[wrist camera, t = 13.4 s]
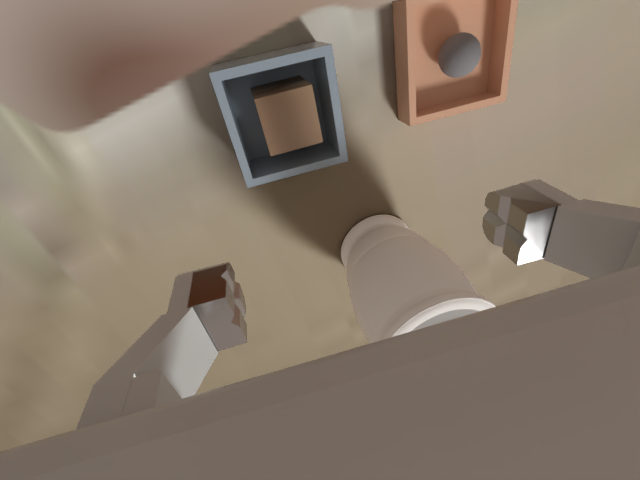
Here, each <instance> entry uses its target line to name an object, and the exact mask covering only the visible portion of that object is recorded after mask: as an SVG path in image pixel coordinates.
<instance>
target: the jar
mask: <svg viewBox="0 0 640 480" xmlns="http://www.w3.org/2000/svg"><path fill="white" fill-rule="evenodd" d="M341 259H342V263H343V265H344V267H345V268H346V269H347V282H348V287H349V290H350V296H351V301H352V305H353V309H354V312H355V315H356V318H357V321H358V323H359V325H360V327H361V329H362V331H363V333H364V335H365V337H366V339H367V340H368V342H369V343H374V342H377V341H380V340H384V339H387V338H391V337H394V336H397V335H401V334H404V333H408V332H411V331H414V330H418V329H421V328H425V327H428V326H431V325H435V324H438V323H442V322H445V321H448V320H452V319H455V318H459V317H462V316H465V315H469V314H472V313H476V312H479V311H482V310H486V309H489V308H493V307H496V306H495V305H494V304H493V303H492V302H491V301H490V300H488V299H487V298H486V297H484V296H482V295H479V294H477V293H476V291H475V289H474V287H473V285H472V284H471V282H470V281H469V279H468V278H467V276H466V275H465V274H464V272H463V271H462V270H461V269H460V267H459V266H458V265H457V264H456V263H455V262H454V261H453V260H452V259H451V258H450V257H449V256H448V255H447V254H446V253H444V252H443V251H442V250H441V249H439V248H438V247H436V246H435V245H433V244H432V243H430V242H429V241H428V240H426V239H425V238H424V237H422V236H421V235H419V234H418V233H416V232H414V231H412V230H410V229H409V228H408V227H407V225H406V224H405V223H404V222H403V221H402V220H401V219H399V218H397V217H395V216H391V215H375V216H371V217H368V218H366V219H364V220H362V221H360V222H359V223H358V224H356V225H355V226H354V227H353V228H352V229H351V230H350V231H349V232H348V234H347V235H346V237H345V239H344V241H343V243H342V247H341Z"/></svg>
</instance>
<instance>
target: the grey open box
mask: <svg viewBox="0 0 640 480" xmlns="http://www.w3.org/2000/svg"><path fill="white" fill-rule="evenodd" d="M298 75H300V76H301V77H303V78H304V79H305V80H307V81H308V82H309V83H311V84H312V87H313V92H314V97H315V102H316V108H317V113H318V118H319V123H320V128H321V133H322V138H323V142H322V143H318V144H315V145H311V146H307V147H304V148H300V149H296V150H293V151H289V152H285V153H282V154H278V155H274V156H270V152H269V149H268V146H267V142H266V139H265V136H264V132H263V129H262V126H261V122H260V119H259V115H258V112H257V108H256V105H255V102H254V98H253V95H252V91H251V87H255V86H259V85H263V84H267V83H271V82H275V81H279V80H283V79H287V78H291V77H294V76H298ZM209 76H210V79H211V82H212V85H213V88H214V91H215V93H216V96H217V99H218V102H219V105H220V108H221V111H222V114H223V117H224V120H225V123H226V126H227V129H228V132H229V135H230V138H231V141H232V144H233V147H234V150H235V153H236V156H237V159H238V161H239V164H240V167H241V170H242V173H243V176H244V179H245V182H246V185H247V188H250V187H254V186H257V185H261V184H265V183H269V182H272V181H276V180H280V179H284V178H287V177H291V176H295V175H299V174H302V173H306V172H310V171H314V170H318V169H321V168H325V167H329V166H333V165H336V164H340V163H344V162H348V155H347V148H346V141H345V134H344V127H343V120H342V113H341V106H340V99H339V92H338V85H337V78H336V71H335V64H334V57H333V50H332V44H328V43H323V42H318V41H314V42H310V43H305V44H301V45H297V46H293V47H288V48H284V49H280V50H275V51H271V52H267V53H263V54H258V55H254V56H250V57H245V58H241V59H237V60H233V61H228V62H224V63H220V64H215V65H212V67H211V69H210V71H209Z"/></svg>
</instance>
